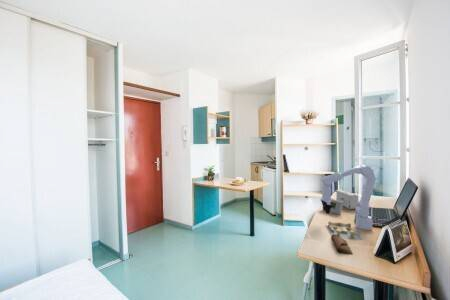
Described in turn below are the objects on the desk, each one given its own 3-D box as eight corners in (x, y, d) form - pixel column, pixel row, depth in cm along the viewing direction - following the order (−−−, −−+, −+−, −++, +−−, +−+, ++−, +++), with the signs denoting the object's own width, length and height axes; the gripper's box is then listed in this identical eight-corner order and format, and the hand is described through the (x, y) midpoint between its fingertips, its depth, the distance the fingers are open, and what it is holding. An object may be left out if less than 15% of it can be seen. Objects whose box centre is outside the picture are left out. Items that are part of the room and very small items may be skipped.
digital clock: (321, 210, 193) (321, 198, 193) (328, 208, 197) (329, 196, 196) (337, 216, 178) (337, 203, 178) (345, 214, 182) (345, 201, 181)
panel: (350, 227, 152) (350, 223, 152) (355, 234, 143) (355, 229, 143) (328, 226, 156) (328, 221, 155) (331, 231, 146) (331, 227, 146)
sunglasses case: (354, 255, 118) (347, 243, 119) (342, 260, 120) (335, 248, 121) (345, 240, 136) (340, 230, 136) (335, 244, 137) (329, 235, 138)
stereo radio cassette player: (358, 209, 194) (359, 187, 193) (350, 210, 193) (350, 187, 192) (342, 202, 215) (343, 182, 214) (334, 203, 214) (335, 182, 213)
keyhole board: (352, 228, 153) (353, 223, 153) (363, 241, 134) (363, 235, 134) (324, 226, 157) (325, 221, 157) (331, 238, 139) (331, 232, 138)
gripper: (318, 190, 167) (318, 208, 167) (322, 195, 153) (322, 214, 153) (328, 191, 165) (328, 208, 166) (333, 196, 151) (333, 215, 152)
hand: (326, 211), depth 159 cm, fingers open, 7 cm apart
